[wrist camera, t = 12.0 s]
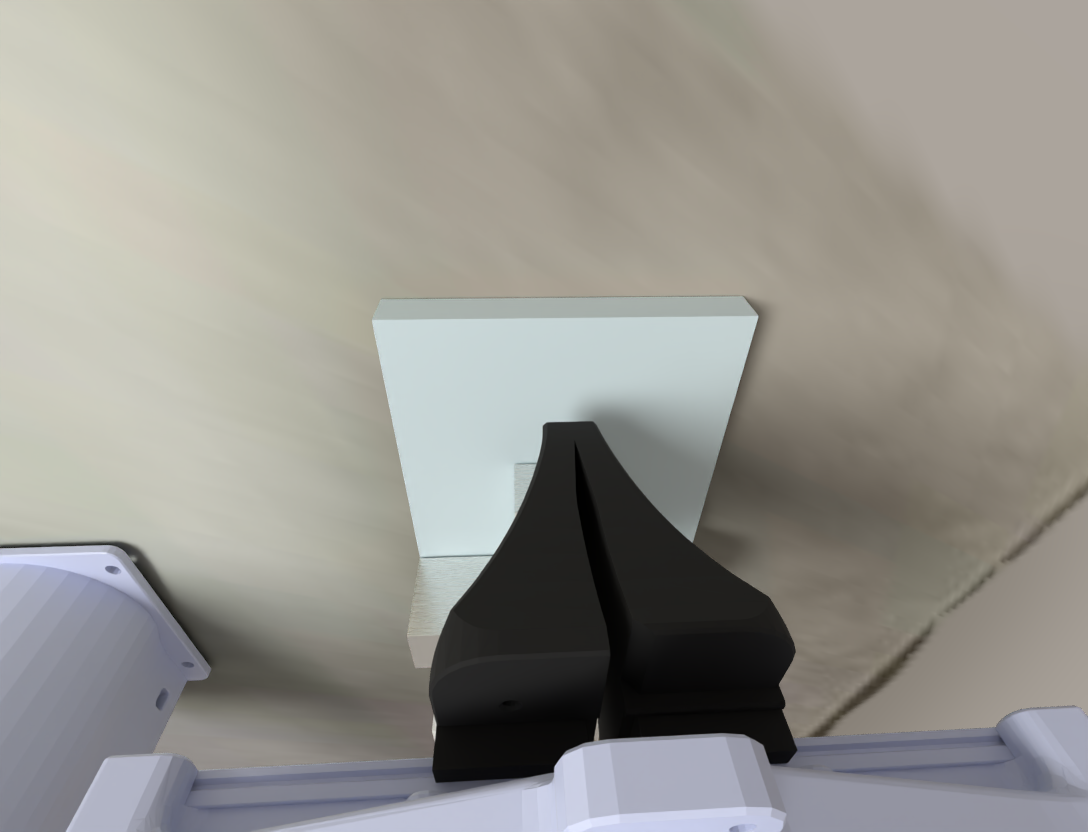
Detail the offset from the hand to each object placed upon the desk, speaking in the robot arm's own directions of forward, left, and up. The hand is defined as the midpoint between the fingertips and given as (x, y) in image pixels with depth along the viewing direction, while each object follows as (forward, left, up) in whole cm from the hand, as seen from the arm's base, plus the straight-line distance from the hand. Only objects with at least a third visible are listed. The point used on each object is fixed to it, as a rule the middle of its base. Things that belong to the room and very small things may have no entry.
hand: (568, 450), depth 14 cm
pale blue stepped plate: (-6, 0, -3) cm, 7 cm away
